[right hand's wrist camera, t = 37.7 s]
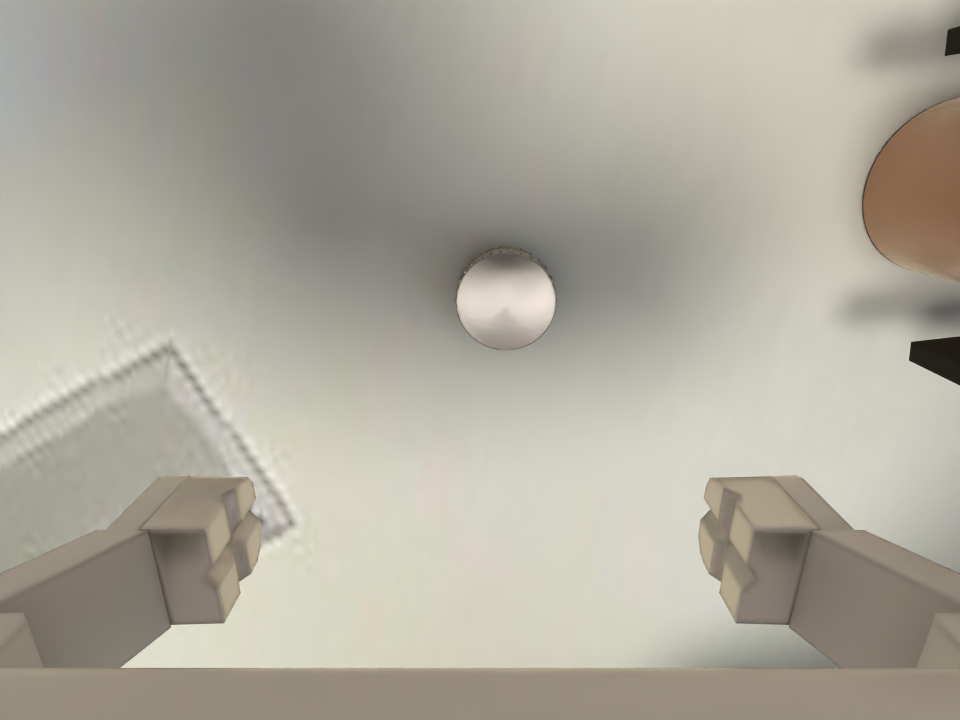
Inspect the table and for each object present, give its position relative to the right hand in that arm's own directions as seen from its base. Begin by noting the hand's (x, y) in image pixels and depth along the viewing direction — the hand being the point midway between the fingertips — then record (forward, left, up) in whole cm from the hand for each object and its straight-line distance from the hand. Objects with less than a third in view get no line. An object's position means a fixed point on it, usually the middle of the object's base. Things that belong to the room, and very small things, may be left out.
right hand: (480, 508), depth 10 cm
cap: (+1, 0, -16) cm, 16 cm away
